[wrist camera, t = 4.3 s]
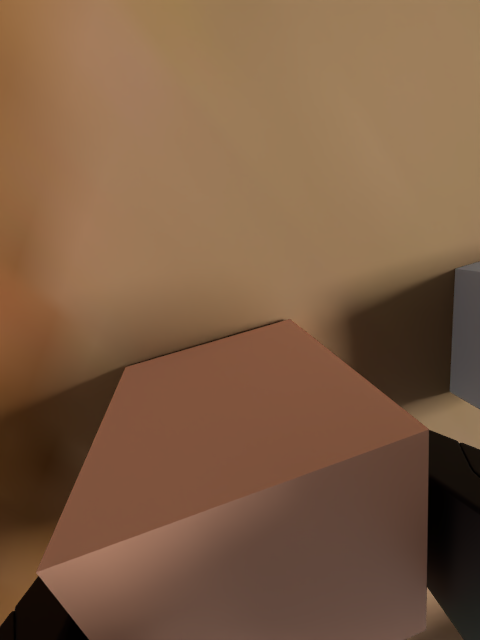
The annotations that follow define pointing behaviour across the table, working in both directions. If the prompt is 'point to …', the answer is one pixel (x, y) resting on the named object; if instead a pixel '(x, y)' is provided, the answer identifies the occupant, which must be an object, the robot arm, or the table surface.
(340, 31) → the table surface
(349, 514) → the terracotta cube
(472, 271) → the slate cube
